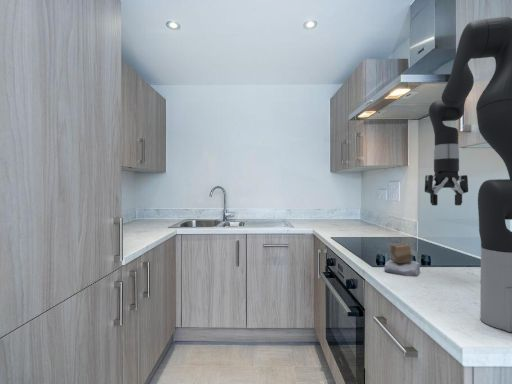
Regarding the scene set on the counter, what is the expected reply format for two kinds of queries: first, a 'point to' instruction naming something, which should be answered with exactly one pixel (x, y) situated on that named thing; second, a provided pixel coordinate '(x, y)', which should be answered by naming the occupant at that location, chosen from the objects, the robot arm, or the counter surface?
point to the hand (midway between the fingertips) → (446, 205)
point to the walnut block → (400, 253)
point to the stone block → (403, 268)
